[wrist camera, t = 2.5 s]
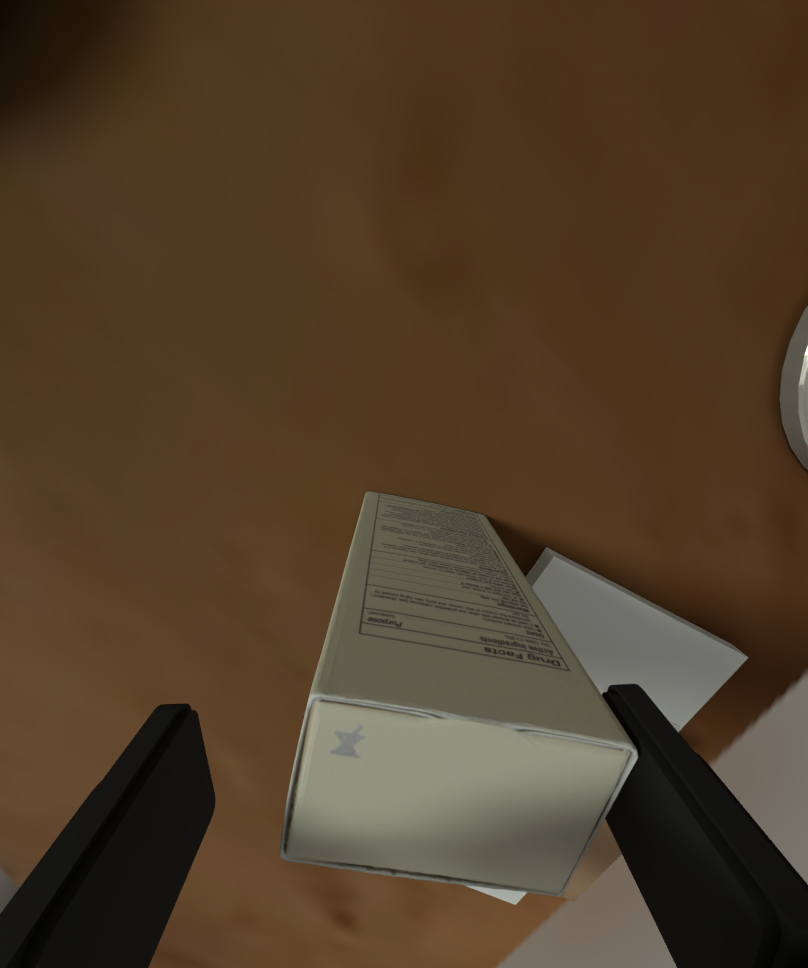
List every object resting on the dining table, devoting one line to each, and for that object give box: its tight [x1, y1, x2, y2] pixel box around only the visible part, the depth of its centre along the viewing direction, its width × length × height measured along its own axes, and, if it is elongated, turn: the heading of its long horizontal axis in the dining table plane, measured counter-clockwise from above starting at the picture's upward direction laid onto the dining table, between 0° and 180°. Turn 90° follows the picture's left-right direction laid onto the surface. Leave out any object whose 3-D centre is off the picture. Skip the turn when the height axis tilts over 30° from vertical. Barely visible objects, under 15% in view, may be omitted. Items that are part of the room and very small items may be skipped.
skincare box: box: [280, 491, 638, 896], centre depth 13 cm, size 6×4×12 cm
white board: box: [467, 547, 748, 905], centre depth 22 cm, size 22×12×1 cm, turn 152°
